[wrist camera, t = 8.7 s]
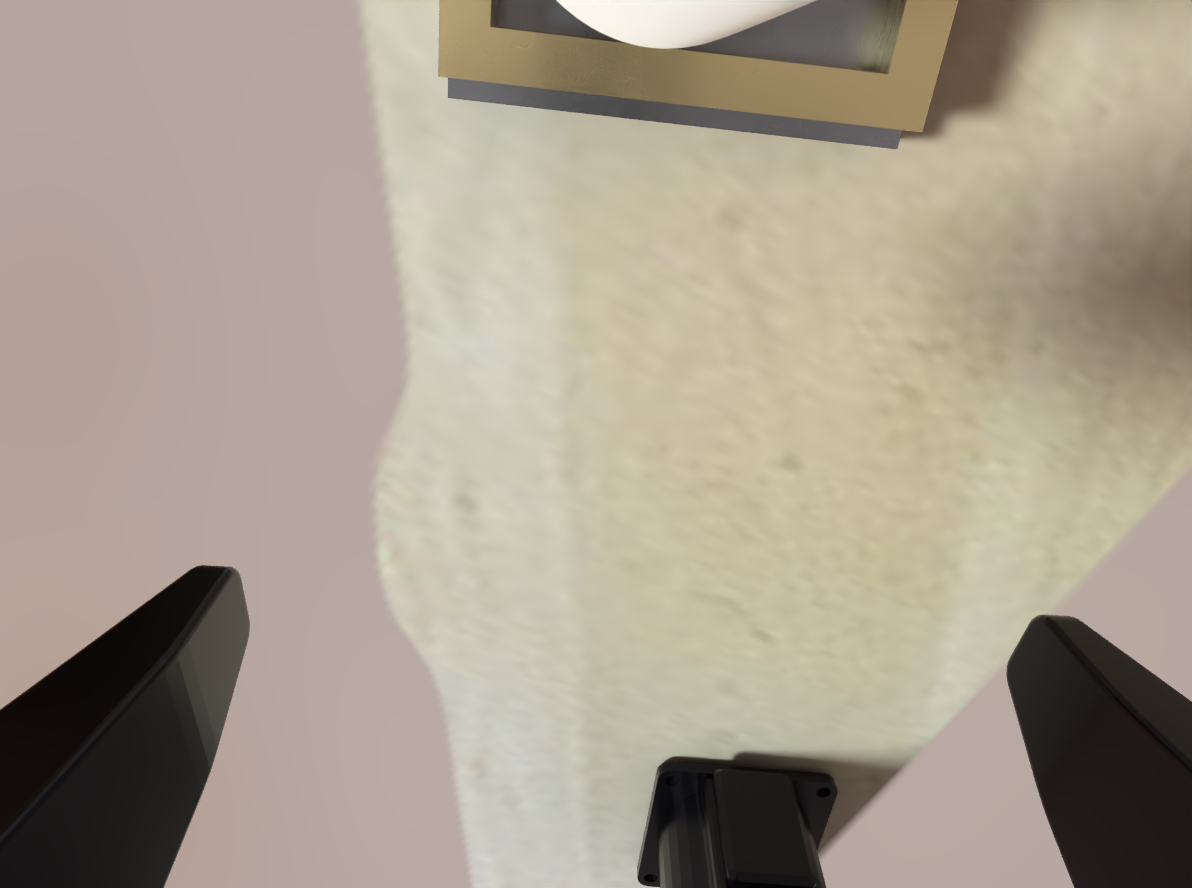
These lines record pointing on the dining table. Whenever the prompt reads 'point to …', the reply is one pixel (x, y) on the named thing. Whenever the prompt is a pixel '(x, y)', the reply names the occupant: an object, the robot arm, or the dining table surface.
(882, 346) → the dining table surface
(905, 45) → the gold square coaster
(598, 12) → the can
